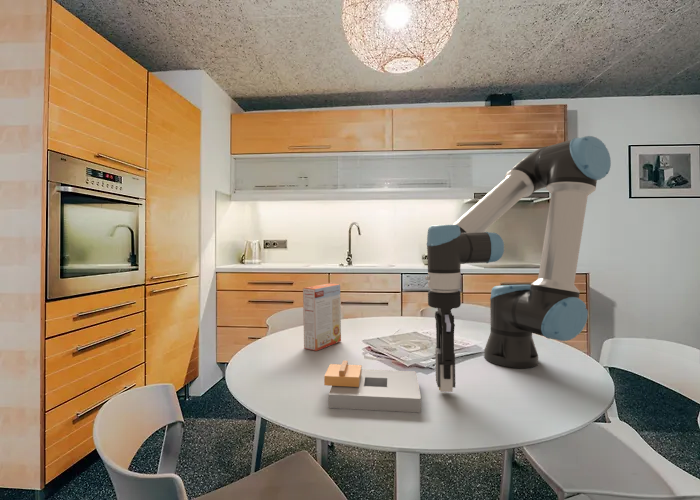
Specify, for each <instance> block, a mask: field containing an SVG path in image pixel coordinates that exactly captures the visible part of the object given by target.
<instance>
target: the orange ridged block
mask: <svg viewBox="0 0 700 500" xmlns="http://www.w3.org/2000/svg"><path fill="white" fill-rule="evenodd" d="M348 361H349V360H345V359H344V360H342V362H341V364H338V363H337V364H336V363H335V364H334V363H330V364H329V366H328V367H327V369H326V371H325V373H324V377H323V378H324V382H323V383H324V386H327V387H328V386H331V387H332V386H349V387H359V384H360V379H361V374H362V369H363V367H362V366H363V365H361V364H349V362H348Z"/></svg>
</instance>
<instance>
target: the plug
mask: <svg viewBox="0 0 700 500" xmlns="http://www.w3.org/2000/svg"><path fill="white" fill-rule="evenodd" d="M434 349H435V354H434V356H435V382H436V385H437V388H438V391H441V390H440V365H438V362H441V348H436V347H435V348H434ZM454 388H456V353H455V352H454V365H453V389H454Z"/></svg>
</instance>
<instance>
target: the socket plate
mask: <svg viewBox="0 0 700 500" xmlns="http://www.w3.org/2000/svg"><path fill="white" fill-rule="evenodd" d="M419 385H420V384H419V380H418V375H417V371H415V370H413V371H412V370H391V369H390V370H388V369H365V368H364V369H363V368H362V374H361V379H360V384H359V387H349V386H331V388H330V389H329V393H328V409H330V408H331V409H345V410H362V411H363V410H364V411H382V412H385V411H386V412H404V413H405V412H406V413H420V414H421V413H422V397H421V396H422V395H421V390H420V387H419Z"/></svg>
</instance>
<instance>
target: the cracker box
mask: <svg viewBox="0 0 700 500" xmlns="http://www.w3.org/2000/svg"><path fill="white" fill-rule="evenodd" d="M302 307H303V308H302V309H303V310H302V311H303V349H306V350H310V351H314V352H318V351H320V350H323V349H324V348H328V347H329V346H332V345H334V344H337V343H339V342H342V321H341V320H342V318H341V316H342V313H341V312H342V311H341V284H339V283H331V282H329V283H324V284H317V285H312V286H307V287H303V288H302Z"/></svg>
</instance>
